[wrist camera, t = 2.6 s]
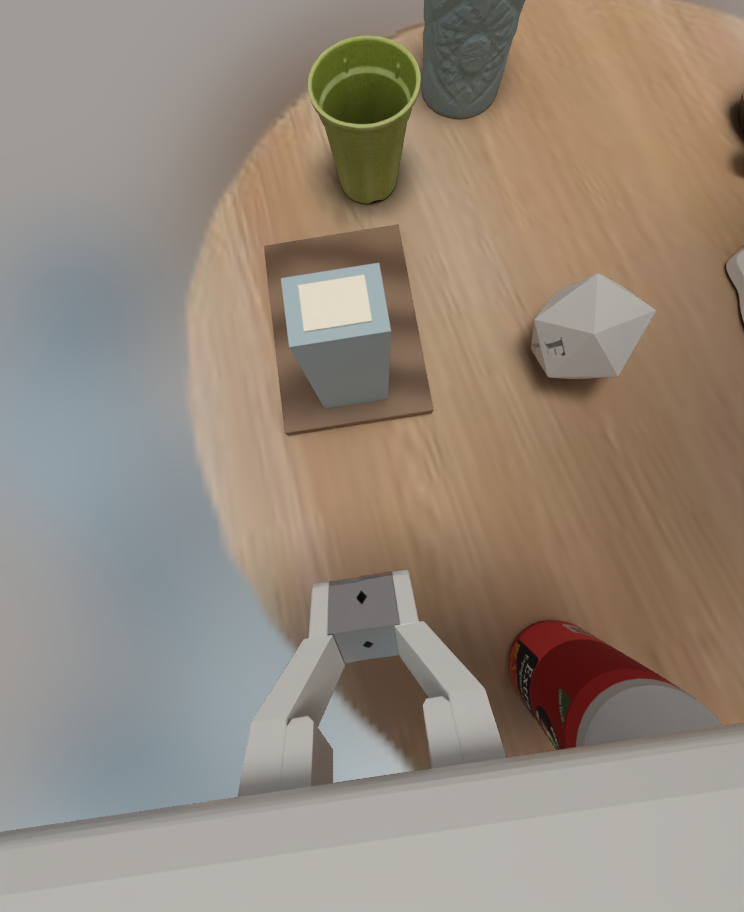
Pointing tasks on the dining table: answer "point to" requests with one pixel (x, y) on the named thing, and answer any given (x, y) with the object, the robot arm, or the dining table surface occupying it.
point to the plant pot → (365, 110)
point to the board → (405, 347)
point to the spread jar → (742, 110)
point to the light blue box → (340, 333)
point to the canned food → (595, 690)
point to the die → (589, 329)
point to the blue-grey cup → (466, 53)
